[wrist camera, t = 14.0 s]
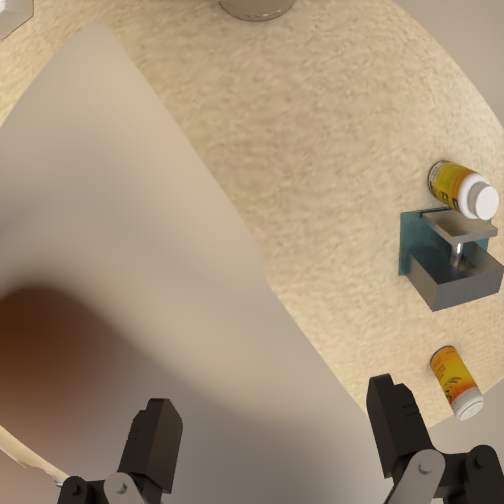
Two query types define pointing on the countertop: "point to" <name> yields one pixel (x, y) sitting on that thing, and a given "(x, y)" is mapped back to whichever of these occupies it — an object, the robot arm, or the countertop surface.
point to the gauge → (445, 265)
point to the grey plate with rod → (458, 230)
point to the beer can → (457, 383)
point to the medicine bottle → (14, 15)
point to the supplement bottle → (463, 190)
